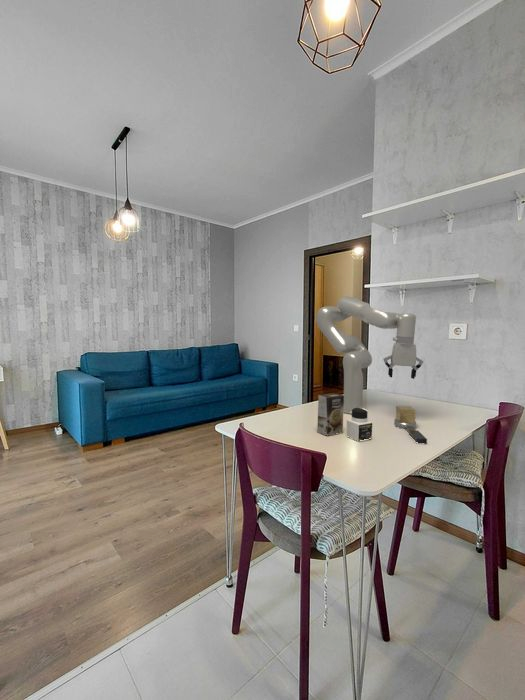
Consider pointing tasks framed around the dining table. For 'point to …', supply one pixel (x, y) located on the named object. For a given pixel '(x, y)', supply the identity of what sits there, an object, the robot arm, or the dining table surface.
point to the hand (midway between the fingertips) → (401, 377)
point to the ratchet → (411, 431)
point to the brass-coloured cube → (405, 414)
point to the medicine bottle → (359, 425)
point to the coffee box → (330, 413)
